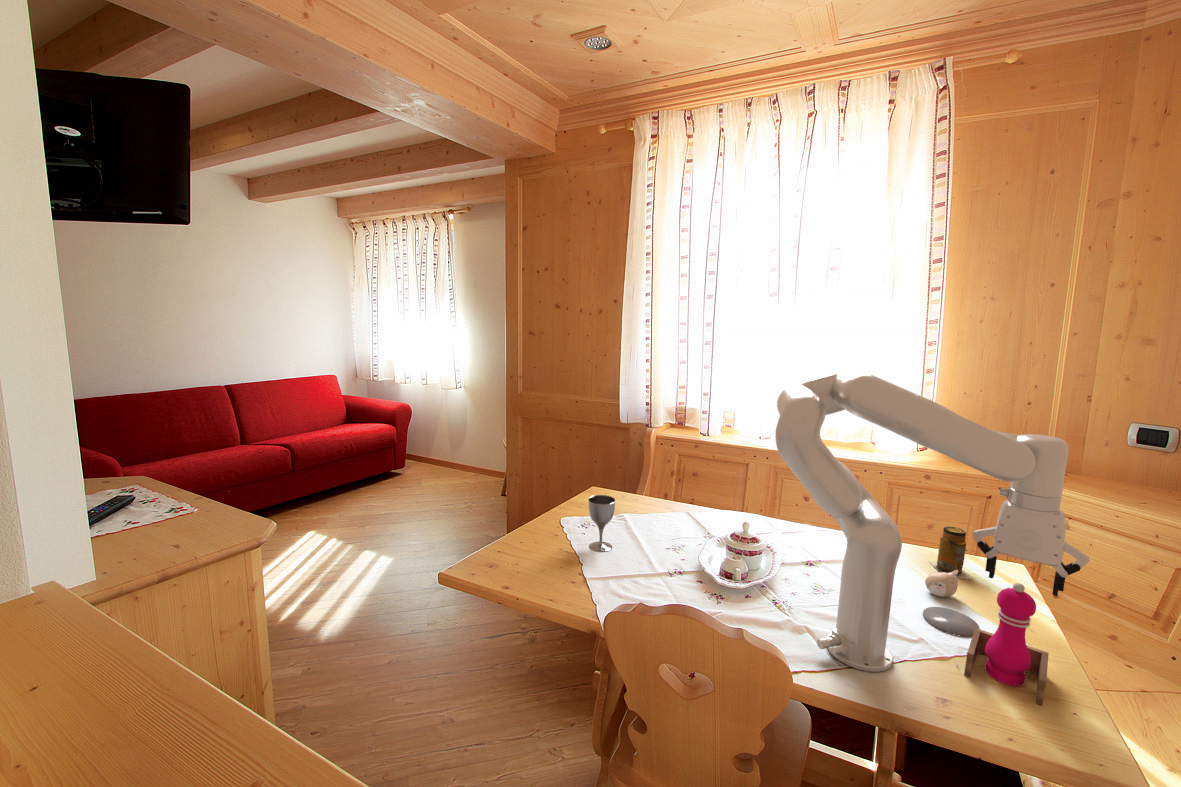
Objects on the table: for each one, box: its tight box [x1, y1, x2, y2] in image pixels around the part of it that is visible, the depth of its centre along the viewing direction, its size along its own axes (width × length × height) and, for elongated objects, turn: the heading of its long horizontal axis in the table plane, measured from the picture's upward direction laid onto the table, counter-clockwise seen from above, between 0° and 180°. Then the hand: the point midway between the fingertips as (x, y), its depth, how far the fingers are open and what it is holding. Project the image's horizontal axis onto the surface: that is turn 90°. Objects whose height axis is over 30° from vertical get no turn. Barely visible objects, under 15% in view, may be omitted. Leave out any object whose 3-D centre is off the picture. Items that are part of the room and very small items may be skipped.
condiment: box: [929, 525, 972, 580], centre depth 148 cm, size 7×8×12 cm
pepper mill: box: [984, 582, 1037, 687], centre depth 104 cm, size 7×7×20 cm
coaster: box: [922, 606, 980, 637], centre depth 124 cm, size 11×11×1 cm
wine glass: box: [588, 494, 616, 553], centre depth 158 cm, size 8×8×15 cm
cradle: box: [963, 628, 1050, 707], centre depth 105 cm, size 12×12×5 cm
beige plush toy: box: [924, 570, 959, 598], centre depth 135 cm, size 7×6×8 cm
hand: (1022, 584), depth 102 cm, fingers open, 9 cm apart
